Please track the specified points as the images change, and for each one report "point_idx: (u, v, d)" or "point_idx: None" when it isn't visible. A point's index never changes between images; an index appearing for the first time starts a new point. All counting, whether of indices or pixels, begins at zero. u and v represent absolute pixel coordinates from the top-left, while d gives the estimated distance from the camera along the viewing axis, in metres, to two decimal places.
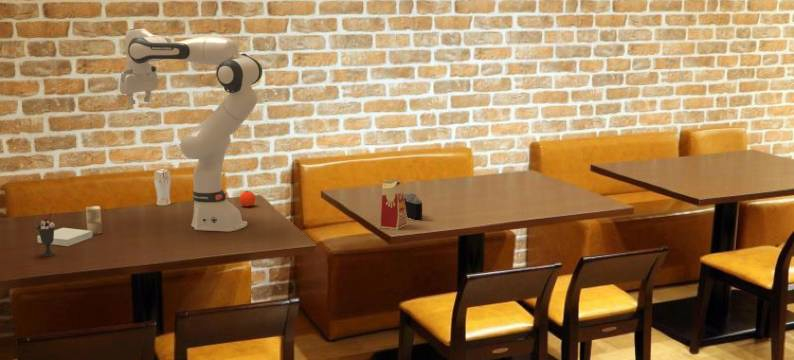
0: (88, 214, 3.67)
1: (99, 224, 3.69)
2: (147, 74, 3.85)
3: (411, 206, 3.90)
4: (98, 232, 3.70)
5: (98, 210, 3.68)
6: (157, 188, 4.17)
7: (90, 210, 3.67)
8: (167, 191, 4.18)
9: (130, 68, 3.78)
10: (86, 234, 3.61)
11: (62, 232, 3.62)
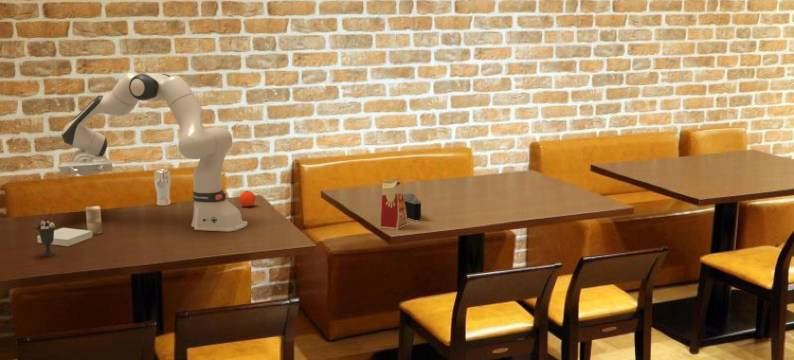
0: (88, 214, 3.67)
1: (99, 224, 3.69)
2: (92, 159, 3.89)
3: (410, 206, 3.90)
4: (98, 232, 3.70)
5: (98, 210, 3.68)
6: (157, 188, 4.17)
7: (90, 210, 3.67)
8: (167, 191, 4.18)
9: None
10: (86, 234, 3.61)
11: (62, 232, 3.62)
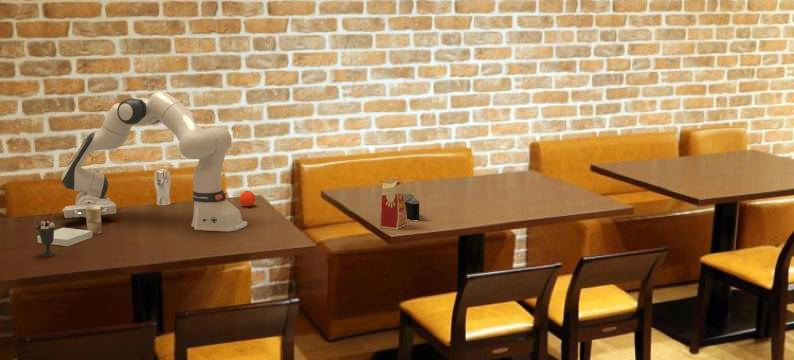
0: (88, 214, 3.67)
1: (99, 224, 3.69)
2: (96, 202, 3.90)
3: (408, 206, 3.90)
4: (98, 232, 3.70)
5: (98, 210, 3.68)
6: (157, 188, 4.17)
7: (90, 210, 3.67)
8: (167, 191, 4.18)
9: None
10: (86, 234, 3.61)
11: (62, 232, 3.62)
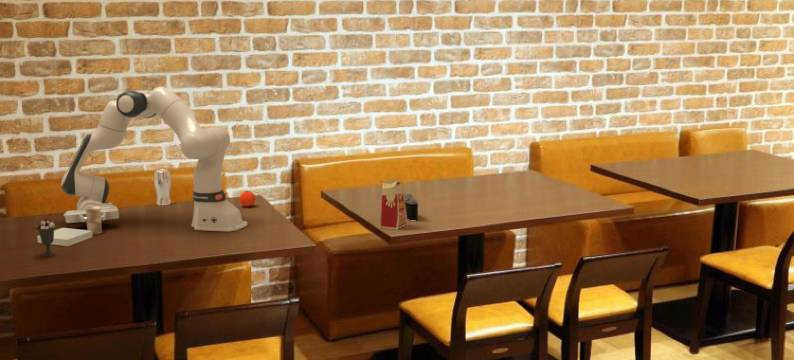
0: (88, 214, 3.67)
1: (99, 224, 3.69)
2: None
3: (407, 206, 3.90)
4: (98, 232, 3.70)
5: (98, 210, 3.68)
6: (157, 188, 4.17)
7: (90, 210, 3.67)
8: (167, 191, 4.18)
9: None
10: (86, 234, 3.61)
11: (62, 232, 3.62)
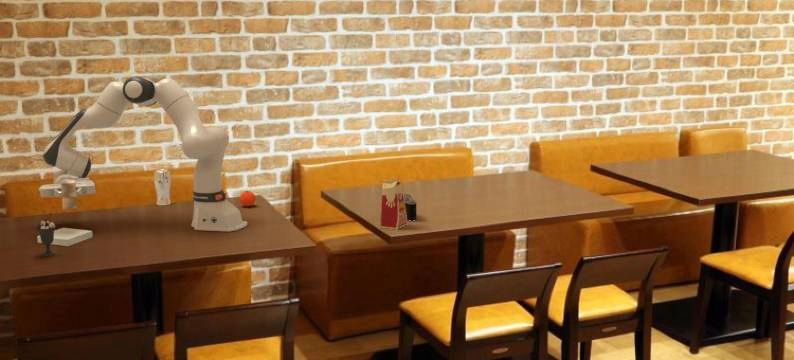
0: (63, 188, 3.57)
1: (74, 199, 3.59)
2: None
3: (405, 206, 3.89)
4: (73, 207, 3.60)
5: (73, 184, 3.58)
6: (157, 188, 4.17)
7: (65, 184, 3.57)
8: (167, 191, 4.18)
9: None
10: (86, 234, 3.61)
11: (62, 232, 3.62)
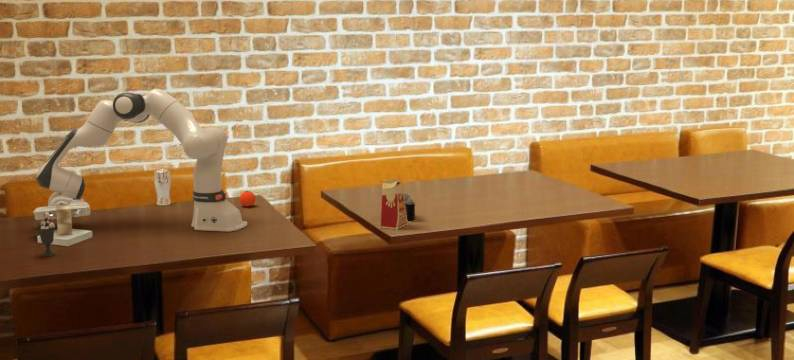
0: (58, 214, 3.56)
1: (69, 225, 3.58)
2: (69, 203, 3.69)
3: None
4: (68, 233, 3.58)
5: (68, 210, 3.57)
6: (157, 188, 4.17)
7: (60, 210, 3.56)
8: (167, 191, 4.18)
9: None
10: (86, 234, 3.61)
11: None
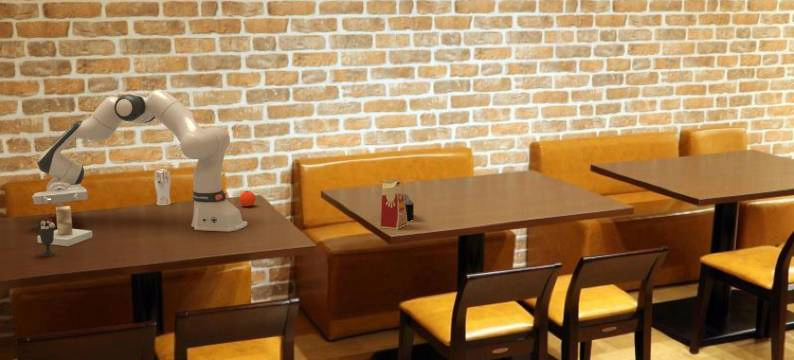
0: (58, 214, 3.56)
1: (69, 225, 3.58)
2: (67, 188, 3.80)
3: None
4: (68, 233, 3.58)
5: (68, 210, 3.57)
6: (157, 188, 4.17)
7: (60, 210, 3.56)
8: (167, 191, 4.18)
9: None
10: (86, 234, 3.61)
11: None
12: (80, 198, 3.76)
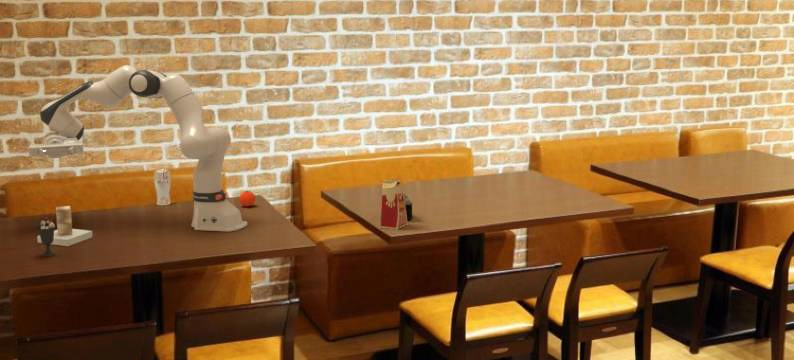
0: (58, 214, 3.56)
1: (69, 225, 3.58)
2: (63, 141, 3.76)
3: None
4: (68, 233, 3.58)
5: (68, 210, 3.57)
6: (157, 188, 4.17)
7: (60, 210, 3.56)
8: (167, 191, 4.18)
9: None
10: (86, 234, 3.61)
11: None
12: (76, 151, 3.72)
